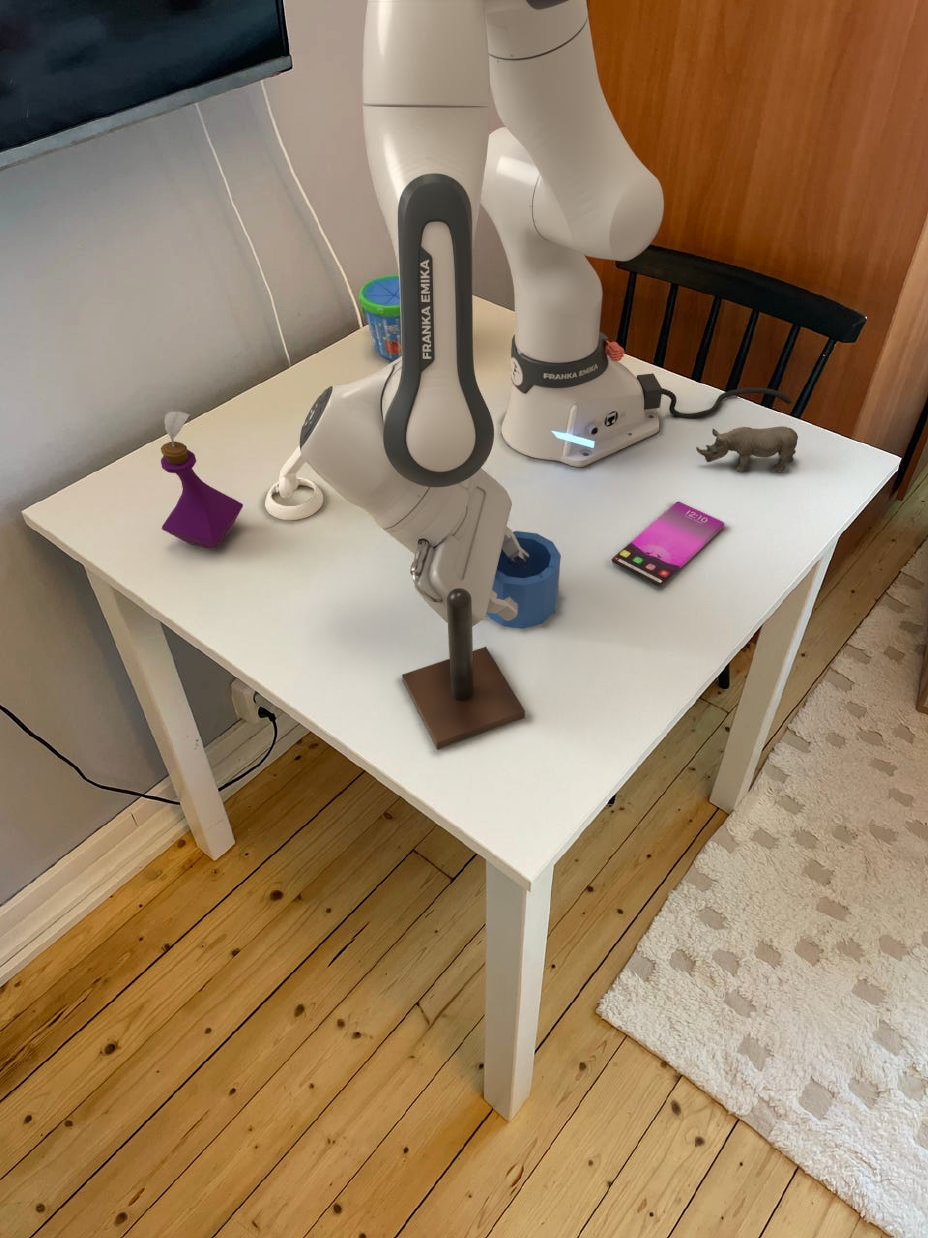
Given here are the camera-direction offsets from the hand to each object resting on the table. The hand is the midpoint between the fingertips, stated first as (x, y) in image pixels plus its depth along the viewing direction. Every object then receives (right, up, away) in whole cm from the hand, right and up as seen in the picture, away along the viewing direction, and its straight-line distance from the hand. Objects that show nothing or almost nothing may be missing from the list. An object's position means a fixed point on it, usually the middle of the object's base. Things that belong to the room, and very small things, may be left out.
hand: (519, 588), depth 107 cm
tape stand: (-6, -12, -4) cm, 14 cm away
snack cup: (-17, +39, +46) cm, 63 cm away
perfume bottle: (-39, +7, +16) cm, 42 cm away
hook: (-29, +12, +20) cm, 37 cm away
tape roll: (0, -1, +6) cm, 6 cm away
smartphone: (+19, +6, +12) cm, 24 cm away
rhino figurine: (+32, +17, +24) cm, 43 cm away
